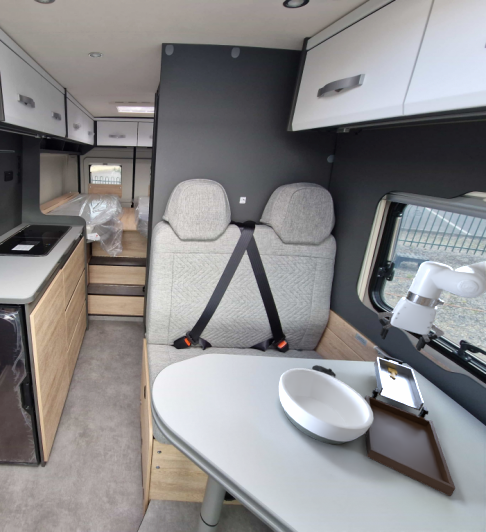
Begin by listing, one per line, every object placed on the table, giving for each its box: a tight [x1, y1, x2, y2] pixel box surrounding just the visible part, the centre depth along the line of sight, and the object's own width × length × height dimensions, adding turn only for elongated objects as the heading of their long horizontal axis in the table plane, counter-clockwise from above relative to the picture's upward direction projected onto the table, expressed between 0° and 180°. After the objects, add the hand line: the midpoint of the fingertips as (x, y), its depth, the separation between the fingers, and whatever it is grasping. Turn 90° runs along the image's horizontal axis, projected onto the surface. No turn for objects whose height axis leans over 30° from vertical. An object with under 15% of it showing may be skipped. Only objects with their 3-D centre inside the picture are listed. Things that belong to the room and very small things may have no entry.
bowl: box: [278, 367, 374, 445], centre depth 86 cm, size 22×22×8 cm
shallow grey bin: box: [373, 355, 425, 412], centre depth 100 cm, size 23×10×3 cm, turn 146°
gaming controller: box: [311, 364, 337, 378], centre depth 103 cm, size 10×5×6 cm
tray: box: [364, 394, 456, 497], centre depth 82 cm, size 24×16×3 cm, turn 146°
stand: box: [370, 387, 430, 418], centre depth 92 cm, size 2×13×5 cm, turn 56°
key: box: [388, 367, 398, 380], centre depth 104 cm, size 6×2×1 cm, turn 146°
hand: (399, 343), depth 106 cm, fingers open, 9 cm apart
